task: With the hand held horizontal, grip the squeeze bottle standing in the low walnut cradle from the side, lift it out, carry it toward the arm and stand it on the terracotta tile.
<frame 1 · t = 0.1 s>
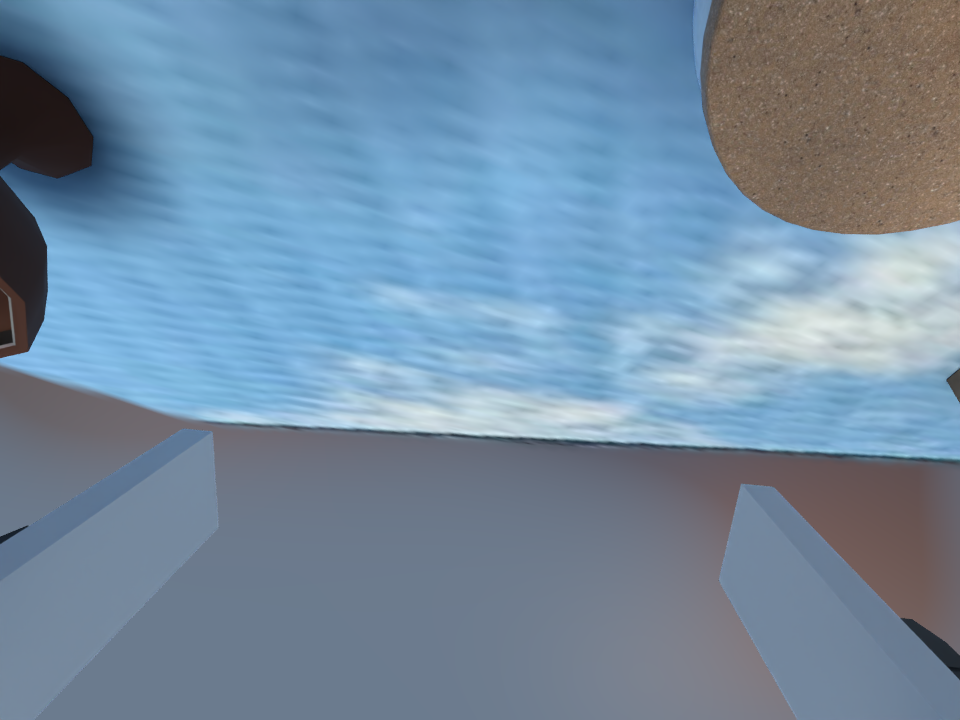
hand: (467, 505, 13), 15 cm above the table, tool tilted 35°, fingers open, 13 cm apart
ice cream bowl: (28, 115, 23), on the table
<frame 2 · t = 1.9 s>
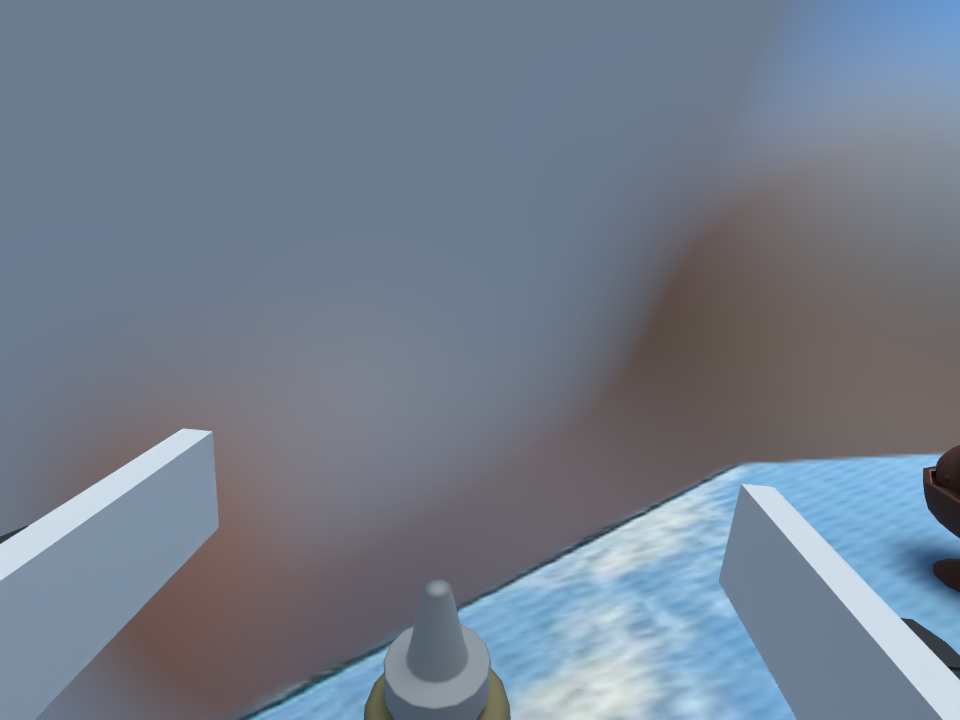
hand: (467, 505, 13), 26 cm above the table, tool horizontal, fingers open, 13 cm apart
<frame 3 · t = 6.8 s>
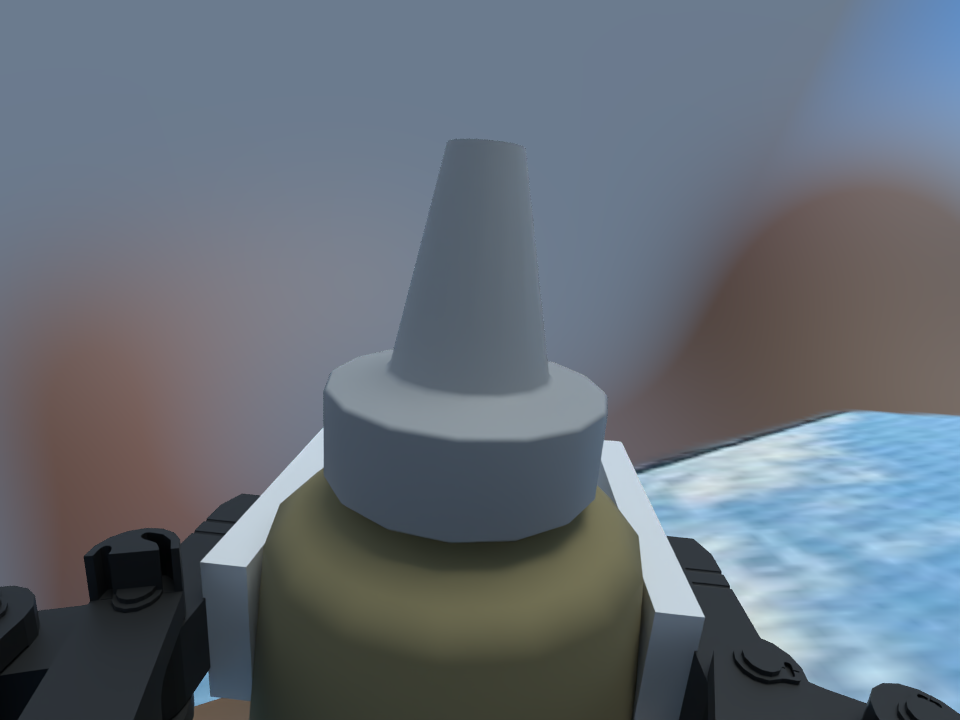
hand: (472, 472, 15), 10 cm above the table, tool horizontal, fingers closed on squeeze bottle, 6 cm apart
when the fingers open (11 cm above the table, at t = 12.3 s): squeeze bottle stays where it is, resting on tile.
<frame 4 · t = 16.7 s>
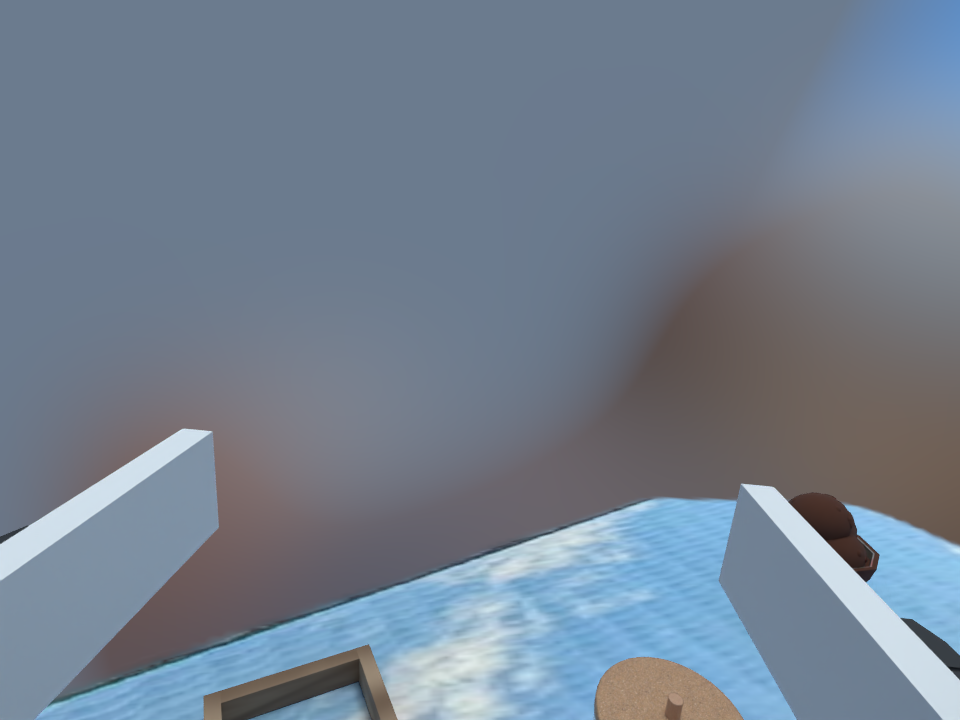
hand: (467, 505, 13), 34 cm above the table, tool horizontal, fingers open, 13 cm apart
ice cream bowl: (798, 611, 60), on the table
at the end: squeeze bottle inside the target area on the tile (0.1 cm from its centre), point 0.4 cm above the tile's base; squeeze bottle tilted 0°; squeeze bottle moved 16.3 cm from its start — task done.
